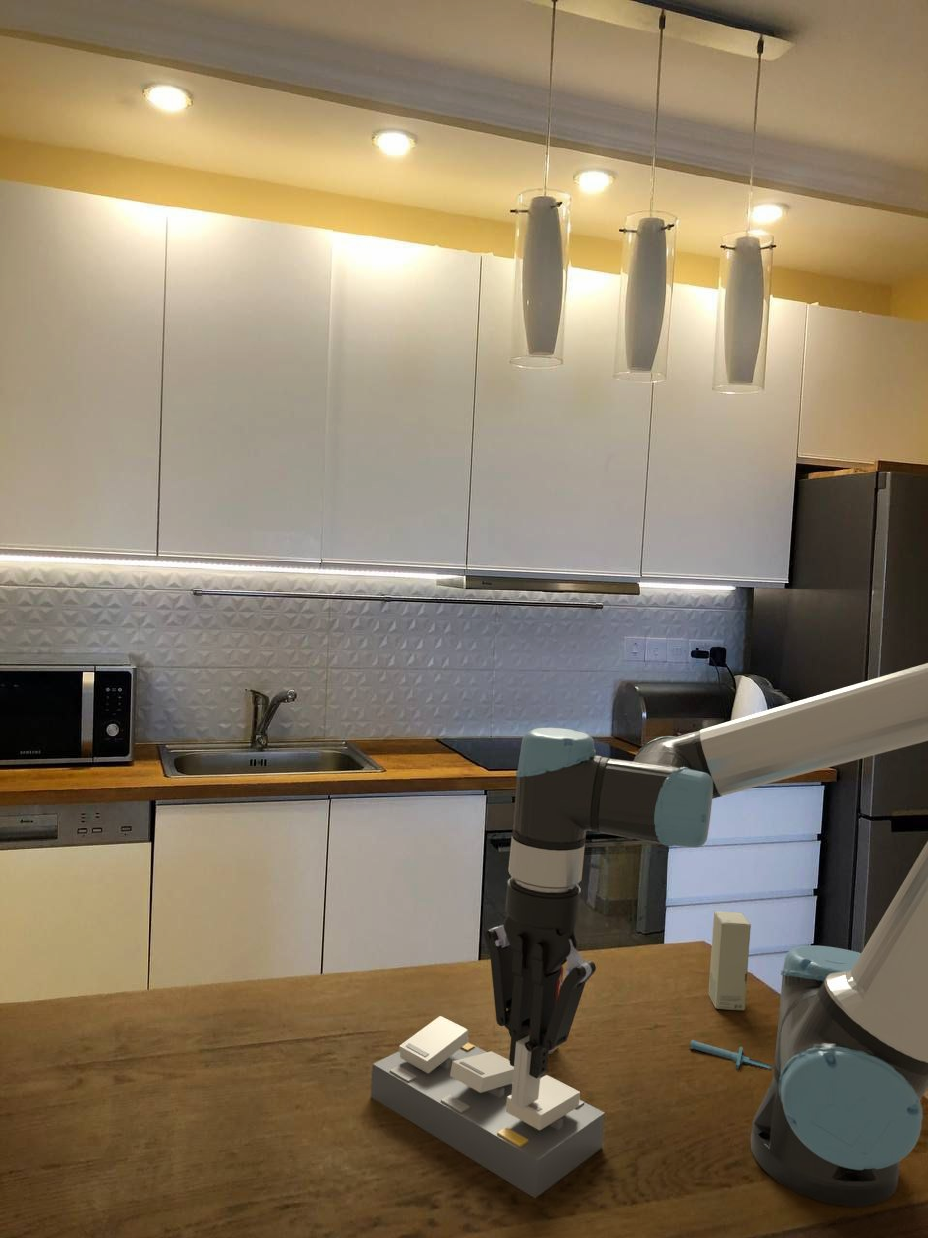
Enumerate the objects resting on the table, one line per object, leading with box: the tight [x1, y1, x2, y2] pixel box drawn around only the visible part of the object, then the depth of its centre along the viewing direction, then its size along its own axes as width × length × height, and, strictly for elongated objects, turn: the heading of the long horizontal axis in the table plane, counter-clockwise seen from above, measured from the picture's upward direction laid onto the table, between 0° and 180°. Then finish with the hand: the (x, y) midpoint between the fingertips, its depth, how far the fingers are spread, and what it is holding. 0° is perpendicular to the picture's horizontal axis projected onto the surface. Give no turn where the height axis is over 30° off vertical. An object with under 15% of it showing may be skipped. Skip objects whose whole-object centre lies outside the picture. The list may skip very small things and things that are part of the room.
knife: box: [689, 1039, 774, 1072], centre depth 126 cm, size 17×1×5 cm
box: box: [708, 910, 752, 1011], centre depth 142 cm, size 5×4×13 cm
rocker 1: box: [398, 1015, 470, 1073], centre depth 114 cm, size 4×7×2 cm, turn 138°
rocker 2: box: [450, 1050, 514, 1093], centre depth 109 cm, size 4×7×2 cm, turn 138°
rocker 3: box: [506, 1074, 581, 1130], centre depth 104 cm, size 4×7×2 cm, turn 139°
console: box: [370, 1042, 606, 1199], centre depth 109 cm, size 24×12×5 cm, turn 48°
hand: (524, 1100), depth 102 cm, fingers closed
